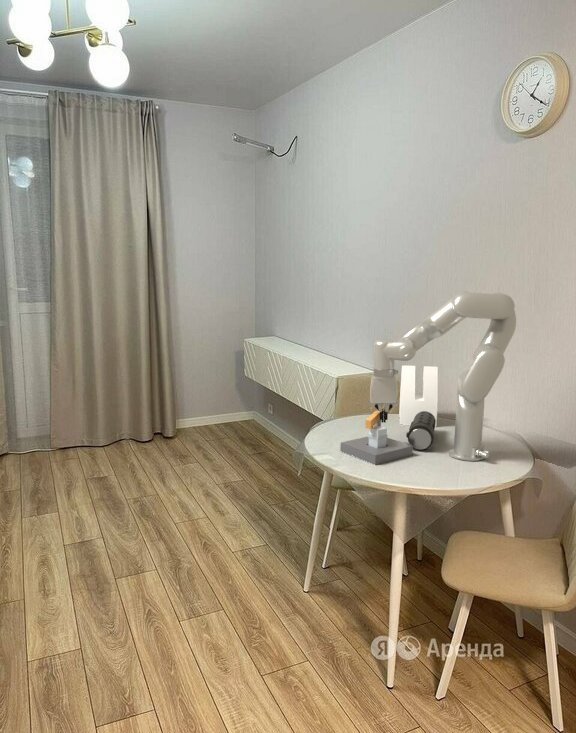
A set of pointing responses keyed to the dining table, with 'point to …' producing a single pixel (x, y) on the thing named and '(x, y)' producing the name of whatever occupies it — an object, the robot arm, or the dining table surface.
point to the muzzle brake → (421, 431)
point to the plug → (377, 437)
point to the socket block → (376, 450)
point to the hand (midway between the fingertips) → (383, 421)
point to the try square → (373, 420)
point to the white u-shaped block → (418, 394)
